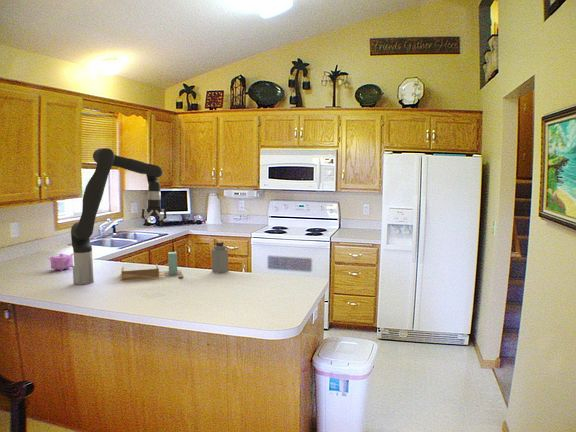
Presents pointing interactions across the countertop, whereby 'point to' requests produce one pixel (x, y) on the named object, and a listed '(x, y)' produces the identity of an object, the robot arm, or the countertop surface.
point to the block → (172, 262)
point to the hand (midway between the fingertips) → (153, 225)
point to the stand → (147, 274)
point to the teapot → (61, 262)
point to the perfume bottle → (219, 258)
